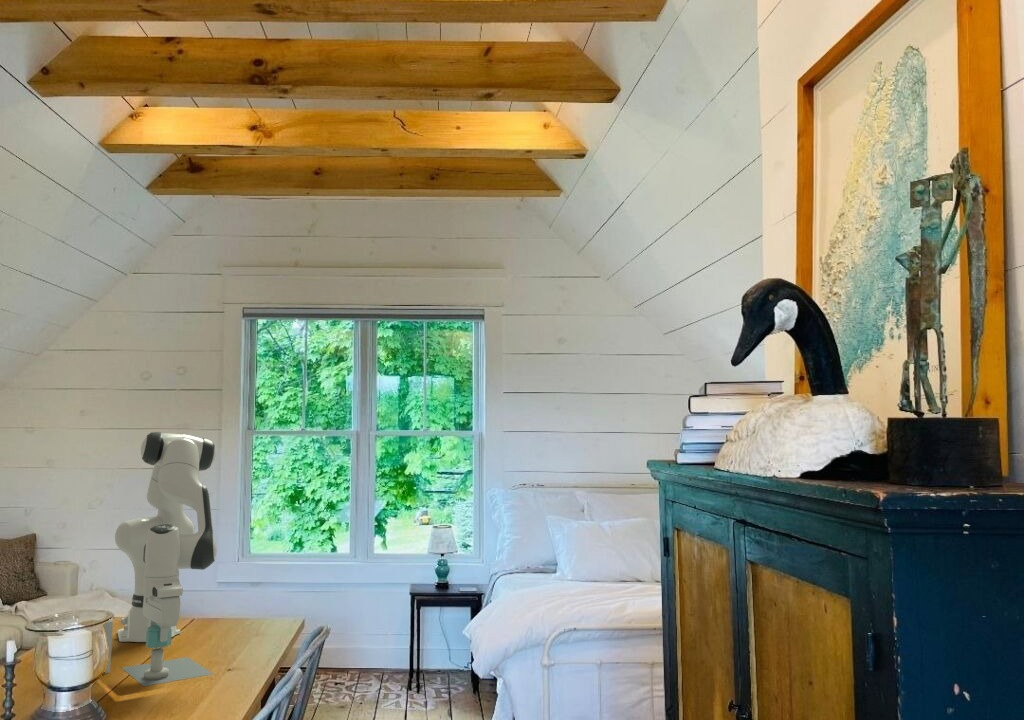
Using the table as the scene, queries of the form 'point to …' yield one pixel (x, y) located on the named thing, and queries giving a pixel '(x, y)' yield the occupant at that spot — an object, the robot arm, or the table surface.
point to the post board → (173, 672)
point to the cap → (156, 637)
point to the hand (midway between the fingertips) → (158, 638)
